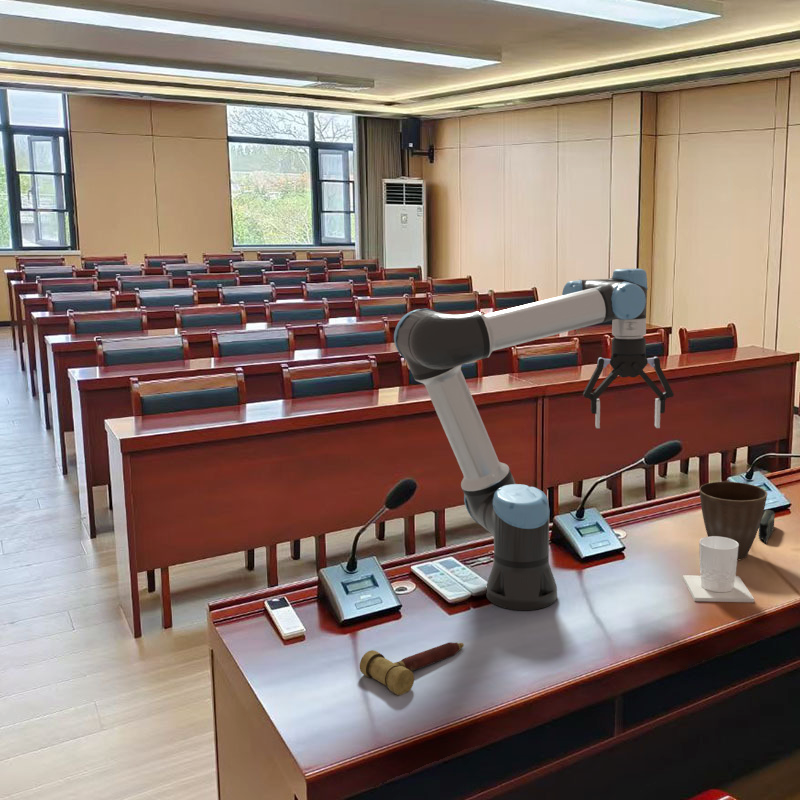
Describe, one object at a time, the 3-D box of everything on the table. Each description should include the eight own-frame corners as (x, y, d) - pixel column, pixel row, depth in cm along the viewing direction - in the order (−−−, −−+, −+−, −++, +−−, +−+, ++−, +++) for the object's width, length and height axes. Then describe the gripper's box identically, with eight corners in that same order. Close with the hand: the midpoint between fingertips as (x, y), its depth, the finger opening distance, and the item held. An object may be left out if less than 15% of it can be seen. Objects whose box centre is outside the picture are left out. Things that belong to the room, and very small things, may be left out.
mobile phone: (763, 507, 223) (757, 523, 210) (775, 508, 222) (770, 525, 209) (762, 525, 224) (756, 543, 211) (774, 527, 222) (769, 544, 209)
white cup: (730, 579, 187) (732, 536, 186) (741, 594, 180) (743, 549, 178) (693, 579, 188) (695, 536, 186) (703, 593, 180) (704, 549, 179)
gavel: (445, 624, 165) (482, 642, 158) (444, 647, 166) (481, 665, 159) (359, 653, 152) (394, 674, 145) (358, 677, 153) (394, 699, 145)
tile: (694, 601, 179) (694, 597, 179) (682, 578, 191) (682, 575, 190) (754, 602, 178) (754, 598, 177) (738, 579, 189) (738, 576, 189)
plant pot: (777, 562, 198) (781, 496, 195) (719, 569, 195) (722, 502, 192) (739, 541, 212) (742, 479, 209) (685, 547, 209) (687, 484, 206)
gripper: (574, 339, 193) (574, 430, 197) (688, 337, 190) (685, 430, 194) (572, 335, 201) (571, 423, 205) (681, 333, 197) (679, 423, 201)
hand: (627, 427), depth 199 cm, fingers open, 13 cm apart
